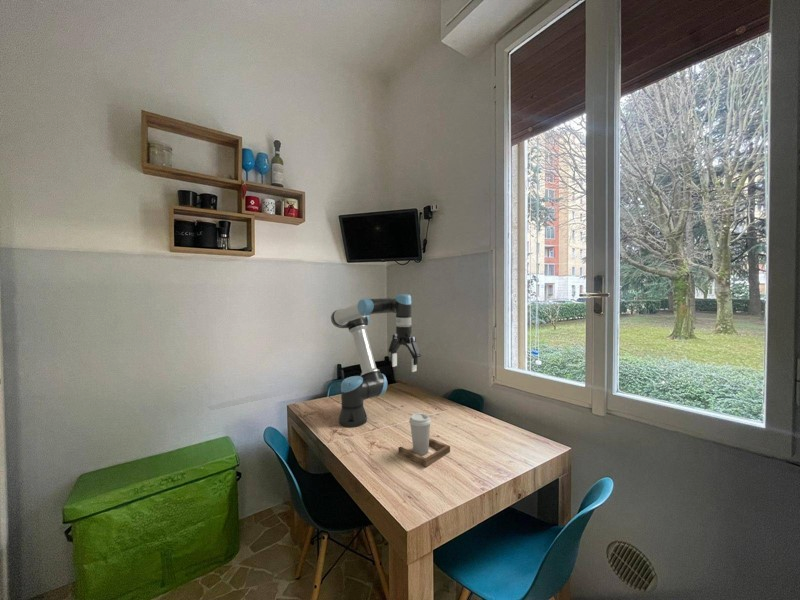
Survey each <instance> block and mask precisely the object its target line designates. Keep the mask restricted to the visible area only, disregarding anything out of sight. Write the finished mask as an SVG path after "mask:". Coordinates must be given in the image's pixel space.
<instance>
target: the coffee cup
mask: <svg viewBox="0 0 800 600" xmlns="http://www.w3.org/2000/svg"><path fill="white" fill-rule="evenodd" d="M408 422H409V424H410V431H411V440H412V448H413V449H412V450H413V451H412V452H414V453H416V454H418V455H420V456H425V455H427V454H428V453H429V448H430V445H429V438H430V434H431V433H430V431H431V423H432V419H431V418H430V415H428V414H426V413H421V412H417V413H413V414H412V415H411V416H410V418H409V420H408Z"/></svg>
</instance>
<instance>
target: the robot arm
mask: <svg viewBox="0 0 800 600" xmlns="http://www.w3.org/2000/svg"><path fill="white" fill-rule="evenodd" d="M390 313H391V314H395V325H396V327H395V332H396V333H394V334H392V336H391V337H392V339H391V342H390V344H389V347H388V350H387V351H388V353H389V352H390V354H391V366H392V368H394V367H398V352H397V351H398V350H399V348H400V346H405V347H406V348H407V349H408V351H409V353H410V354H411V373H415V372H417V371H418V370H417V369H418V368H417V366H418V358H421V356H422V355H421V352H420V351H421V350H420V348H419V346H418V343H417V338H416V336H411V334H412V296H411V294H403V293H401V294H396V295H395V297H384V298H383V297H381V298H380V297H379V298H362V299H359V301H358V302H357V303H355V304H354V305H350V306H347V307H345V308H339V309H335V310H334V311H333V312H331V315H330V320H331V323H332V325H333V326H334V327H336V328H338V329H348V332H349V333H350V334H351V335H352V337H353V342H354V346H355V350H356V354H357V359H358V362H359V366H360V369H361V373H360V375H353V376H349V377H348V376H347V377H346V378H344V379H343V380H342V381H341V384H340V396H341V397H340V398H341V399H340V401H341V409H340V413H339V417H338V424H339V425H340V426H342V427H345V428H357V427H360V426H362V425H365V424H366V423H367V421H368V417H367V416H368V415H367V412H366V409H365V408H364V400H368V399H371V398H375V397H377V398H378V397H380V396H382V395H384V394H385V393H386V392H387V389H388V380H387V377H386V375H385V374H384V373H381V370H380V369H378V368H377V364H376V362H375V358H374V354H373V350H372V347H371V343H370V338H369V334H368V332H367V330H368V327H369V325H370V315H375V314H376V315H377V314H390Z"/></svg>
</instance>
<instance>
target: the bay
mask: <svg viewBox="0 0 800 600" xmlns="http://www.w3.org/2000/svg"><path fill="white" fill-rule="evenodd" d="M429 447H433V448H435V449H438V450H436V451H434V452H433V453H432V454H430V455H428V456H427V457H424V456H423V455H418V454H416V453H414V451H411V450H409V449H407V448H405V447H403V446H399V447H398V449H397V450H398V451H397V454H399V455H401V456H403V457H405V458H406V459H409V460H411V461H412V462H415V463H417V464H418V465H421V466H423V467H425V468H428V467H429V466H431V465H432V464H434V463H436V461H438V460H440V459H441V458H442V457H444V456H446V455H447V454H449V453H451V446H450V445H448V444H446V443H443V442H440V441H438V440H436V439H433V438H431V437H429Z"/></svg>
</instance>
